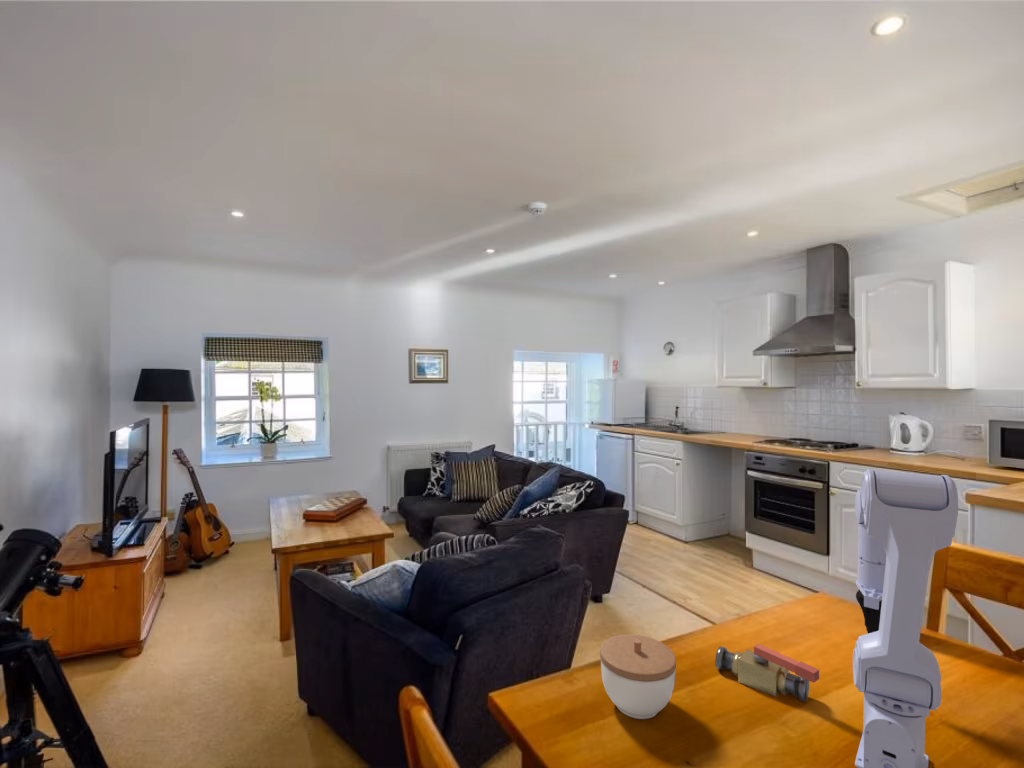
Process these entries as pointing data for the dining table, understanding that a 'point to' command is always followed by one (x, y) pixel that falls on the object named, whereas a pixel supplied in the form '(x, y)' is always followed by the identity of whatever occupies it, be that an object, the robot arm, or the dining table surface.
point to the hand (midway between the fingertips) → (875, 634)
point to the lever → (785, 662)
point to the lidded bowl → (637, 674)
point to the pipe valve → (762, 674)
